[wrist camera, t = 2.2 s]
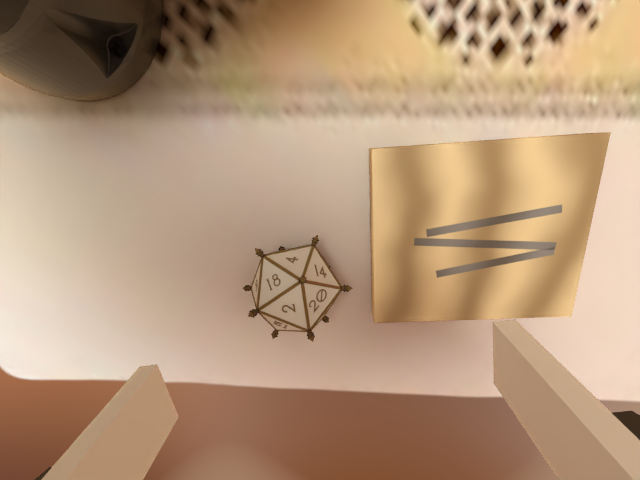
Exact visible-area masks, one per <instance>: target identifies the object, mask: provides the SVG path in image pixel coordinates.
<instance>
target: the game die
mask: <svg viewBox="0 0 640 480" xmlns="http://www.w3.org/2000/svg"><path fill="white" fill-rule="evenodd" d="M318 241H319V240H318V235H317V236H316V237H314V238H313V240H312V244H311V245H306V246H301V247H297V248H292V249H288V250H285V249H284V247H281V246H280V248H279V251H278V252H274V253H269V254H265V255H264V254H263V251H261V249H256V248H255V250H256V254H257V255H258V256H260V257H261V260H260V263H259V266H258V269H257V272H256V275H255V277H254V280H253V283H252V286H249V285H246V286H245V287H243V289H244V290H245V291H250V290H251V291H252V295H253V299H254V302H255V306H256V309H253V310H252V311H250V313H249V315H248V316H249V317H253V318H254V316H256V315H257V313H259V314H260V315H261V316H262V317H263V318H264V319H265V320H266V321H267V322H268V323H269V324H270V325H271V326H272V327H273V328H274V329H275V330H274V331H273V333H272V334H271V335H272V337H273V339H274V338H275V337H278V336H277V335H278V331H299V332H307V333H308V334H307V336H308V339H310V340H311V341H313V340H314V337H315V336H314V335H313V334H314V333H313V332H312V329H313V328H314V327H315V326H316V325H317V324H318V323H319V322H320V321H321V320H323V321H324V322H325V323H326V322H329V320H328V319H329V318H328V317H327V316H325V315H326V313H327V312H328V310H329V309H330V307H331V306H332V304H333V302H334V301H335V299H336V298H337V296H338V295H339V293H340V292H341V291H342V290H343V291H347V292H348V291H349V290H351V289H352V288H351V287H350V286H348V285H347V286H345V285H344V286H341V285H340V283H339V282H338V280H337V279H336V277H335V276H334V274H333V272H332V271H331V269H330V267H329V266H328V265H327V263H326V262H325V260H324V259H323V257H322V256H321V254H320V252H319V251H318V249H317V248H316V246H315V245H316V244H317V242H318Z"/></svg>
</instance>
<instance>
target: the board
mask: <svg viewBox="0 0 640 480" xmlns="http://www.w3.org/2000/svg"><path fill="white" fill-rule="evenodd" d="M610 133H611V132H610ZM610 133H586V134H571V135H557V136H543V137H528V138H514V139H499V140H485V141H471V142H456V143H442V144H428V145H413V146H399V147H384V148H370V149H369V169H370V227H371V285H372V314H373V319H374V323H387V322H416V321H445V320H475V319H504V318H534V317H563V316H571V315H572V310H573V306H574V301H575V296H576V292H577V287H578V282H579V278H580V273H581V268H582V264H583V259H584V254H585V250H586V245H587V240H588V236H589V231H590V226H591V221H592V217H593V212H594V207H595V203H596V198H597V193H598V189H599V184H600V179H601V175H602V170H603V165H604V161H605V156H606V151H607V147H608V142H609V137H610Z"/></svg>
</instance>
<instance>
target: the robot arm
mask: <svg viewBox="0 0 640 480" xmlns="http://www.w3.org/2000/svg"><path fill="white" fill-rule="evenodd" d="M162 17H163V5H162V0H0V74H2V75H4V76H6V77H8V78H10V79H12V80H14V81H16V82H17V83H19V84H21V85H23V86H25V87H28V88H30V89H32V90H35V91H38V92H41V93H44V94H48V95H52V96H56V97H62V98H68V99H74V100H82V101H95V100H102V99H106V98H110V97H113V96H115V95H117V94H120V93H121V92H123V91H125V90H126V89H128V88H129V87H131V86H132V85H133V84H134V83H135V82H136V81H137V80H138V79H139V78H140V77H141V76H142V75H143V74H144V72H145V71H146V69H147V68H148V66H149V64H150V63H151V61H152V59H153V57H154V54H155V52H156V49H157V46H158V43H159V39H160V34H161V28H162ZM493 358H494V384H495V385H496V387H497V388H498V390H499V391H500V393H501V394H502V396H503V397H504V399H505V400H506V402H507V403H508V405H509V406H510V408H511V409H512V411H513V412H514V414H515V415H516V417H517V418H518V420H519V421H520V423H521V424H522V426H523V427H524V429H525V430H526V432H527V433H528V435H529V436H530V438H531V439H532V441H533V442H534V444H535V445H536V447H537V448H538V450H539V451H540V453H541V454H542V456H543V457H544V459H545V460H546V462H547V463H548V465H549V466H550V468H551V469H552V471H553V472H554V474H555V475H556V477H557V478H558V479H559V480H640V415H638V414H636V413H635V412H633V411H625V412H614V413H611V412H610V411H609V410H608V409H607V408H606V407H605V406H604V405H603V404H602V403H601V402H600V401H599V400H598V399H597V398H596V397H595V396H593V395H592V394H591V393H590V392H589V391H588V390H587V389H586V388H585V387H584V386H583V385H582V384H581V383H580V382H579V381H578V380H577V379H576V378H575V377H574V376H573V375H572V374H571V373H570V372H569V371H568V370H567V369H566V368H565V367H564V366H563V365H562V364H560V363H559V362H558V361H557V360H556V359H555V358H554V357H553V356H552V355H551V354H550V353H549V352H548V351H547V350H546V349H545V348H544V347H543V346H542V345H541V344H540V343H539V342H538V341H537V340H536V339H535V338H534V337H533V336H532V335H531V334H530V333H529V332H527V331H526V330H525V329H524V328H523V327H522V326H521V325H520V324H519V323H518V322H517V321H516V320H515V319H514V320H506V321H499V322H493ZM177 419H178V414H177V412H176V409H175V407H174V404H173V402H172V400H171V397H170V395H169V392H168V390H167V387H166V385H165V382H164V380H163V377H162V375H161V373H160V370H159V368H158V365H150V366H142V367H139V368H138V369H137V371H136V372H135V373H134V374H133V375H132V376H131V377H130V379H129V380H128V381H127V382H126V383H125V385H123V387H122V388H121V389H120V390H119V391H118V392H117V394H116V395H115V396H114V397H113V398H112V399H111V400H110V402H109V403H108V404H107V405H106V406H105V408H103V410H102V411H101V412H100V413H99V414H98V415H97V416H96V418H95V419H94V420H93V421H92V422H91V423H90V424H89V426H88V427H87V428H86V429H85V430H84V431H83V432H82V434H81V435H80V436H79V437H78V438H77V439H76V441H75V442H74V443H73V444H72V445H71V446H70V447H69V448H68V450H67V451H66V452H65V453H64V454H63V455H62V457H61V458H60V459H59V460H58V461H57V462H56V463H55V465H54V466H53V467H49V468H48V469H47V470H46V471H45V472H44V473H42V474H41V475H40V476H39V477H37V478H36V479H35V480H143V479H144V476H145V475H146V473H147V471H148V470H149V468H150V466H151V465H152V463H153V461H154V459H155V457H156V455H157V454H158V452H159V450H160V449H161V447H162V445H163V443H164V442H165V440H166V438H167V436H168V435H169V433H170V431H171V429H172V428H173V426H174V424H175V422H176V421H177Z"/></svg>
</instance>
